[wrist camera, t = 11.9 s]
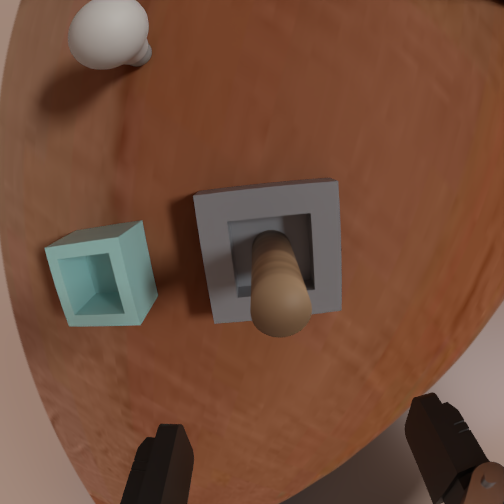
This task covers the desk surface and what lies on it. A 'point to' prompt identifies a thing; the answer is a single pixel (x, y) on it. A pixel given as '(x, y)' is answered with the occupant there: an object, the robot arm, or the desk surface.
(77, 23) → the lightbulb
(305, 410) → the desk surface
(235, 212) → the stand
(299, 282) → the dowel
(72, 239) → the mint green open box
